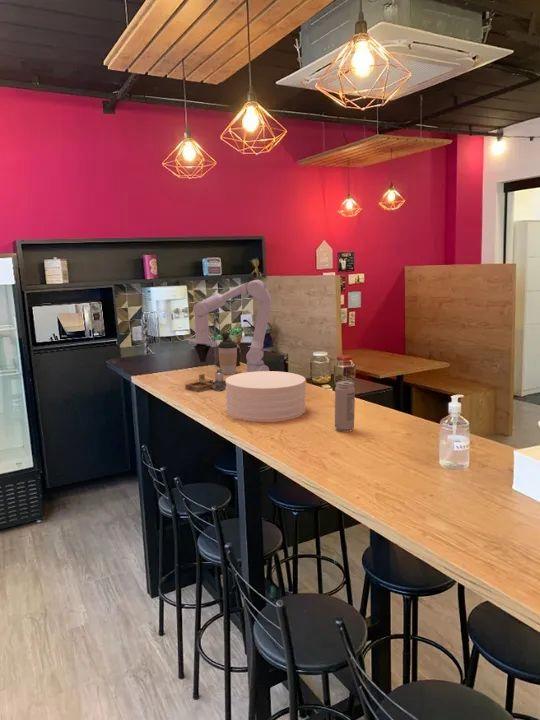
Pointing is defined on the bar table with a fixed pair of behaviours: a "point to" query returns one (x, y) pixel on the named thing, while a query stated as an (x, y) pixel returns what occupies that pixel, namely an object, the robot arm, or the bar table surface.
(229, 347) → the coffee cup
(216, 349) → the potted plant
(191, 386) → the square wooden tray
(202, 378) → the golden l-shaped block
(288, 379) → the plate stack
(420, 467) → the bar table surface
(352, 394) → the energy drink can
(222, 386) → the socket collar
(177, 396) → the bar table surface
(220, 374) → the peg
